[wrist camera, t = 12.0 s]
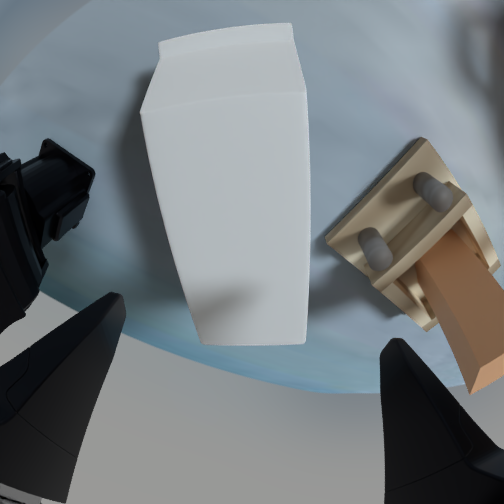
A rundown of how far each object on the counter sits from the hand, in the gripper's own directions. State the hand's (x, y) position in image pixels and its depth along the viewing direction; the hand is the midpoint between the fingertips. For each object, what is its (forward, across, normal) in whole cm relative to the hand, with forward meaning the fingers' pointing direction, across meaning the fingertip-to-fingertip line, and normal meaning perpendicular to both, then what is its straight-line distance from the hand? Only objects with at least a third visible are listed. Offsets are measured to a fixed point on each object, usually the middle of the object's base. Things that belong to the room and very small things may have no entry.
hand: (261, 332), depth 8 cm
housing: (+13, -14, +1) cm, 19 cm away
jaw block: (+12, -15, +2) cm, 20 cm away
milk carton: (+9, -1, +9) cm, 13 cm away
